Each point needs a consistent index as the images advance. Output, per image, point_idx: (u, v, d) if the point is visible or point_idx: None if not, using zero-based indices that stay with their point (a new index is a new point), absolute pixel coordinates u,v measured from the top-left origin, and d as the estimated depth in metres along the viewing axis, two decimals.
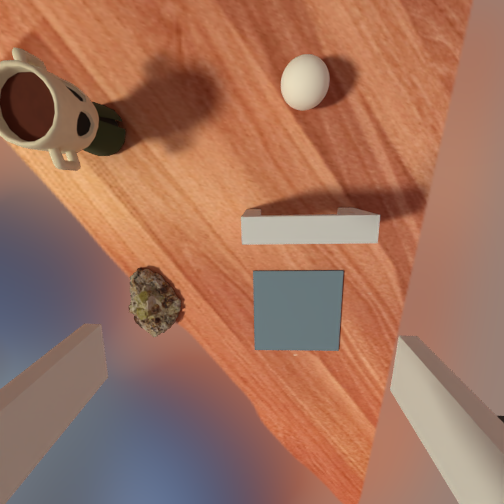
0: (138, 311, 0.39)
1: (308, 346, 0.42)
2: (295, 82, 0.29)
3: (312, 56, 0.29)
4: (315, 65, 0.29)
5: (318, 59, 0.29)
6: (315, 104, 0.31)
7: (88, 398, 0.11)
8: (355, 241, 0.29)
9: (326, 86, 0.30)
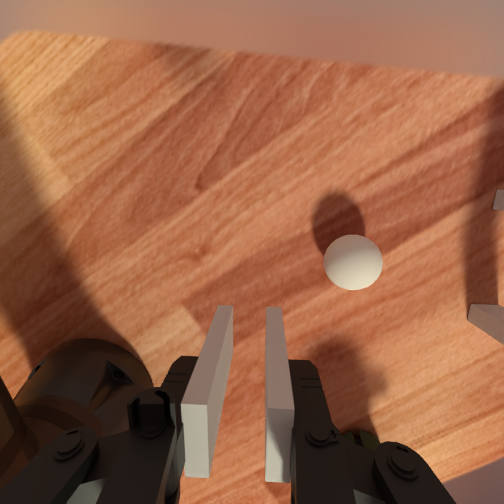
0: None
1: None
2: (364, 282, 0.25)
3: (336, 261, 0.25)
4: (351, 261, 0.25)
5: (340, 254, 0.25)
6: (380, 252, 0.26)
7: (228, 367, 0.13)
8: None
9: (368, 243, 0.25)
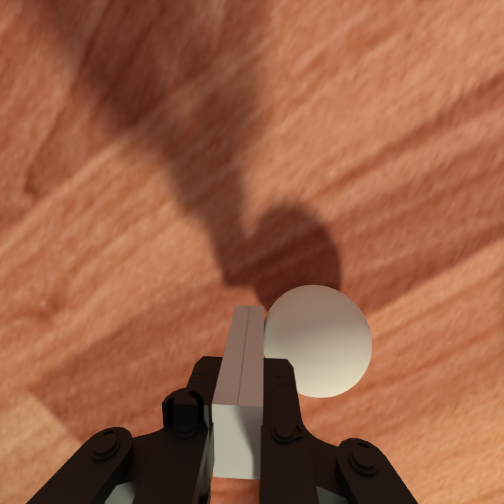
0: None
1: None
2: (335, 392, 0.12)
3: (278, 347, 0.12)
4: (305, 352, 0.12)
5: (286, 334, 0.12)
6: (367, 323, 0.13)
7: None
8: None
9: (342, 311, 0.12)
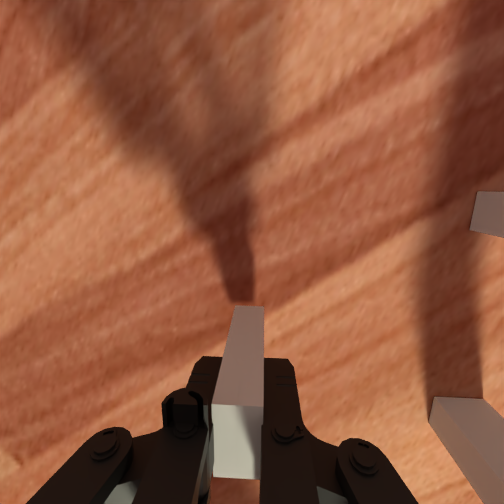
0: None
1: None
2: None
3: None
4: None
5: None
6: None
7: None
8: None
9: None
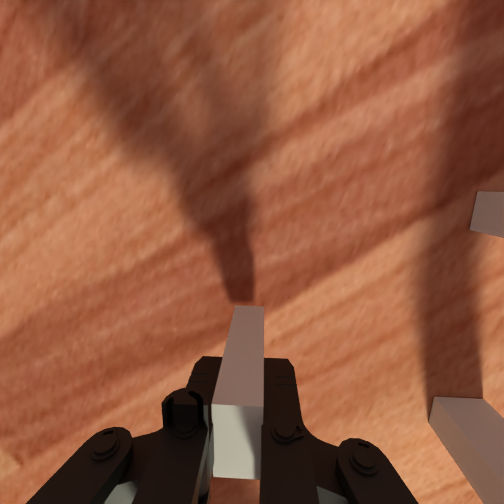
0: None
1: None
2: None
3: None
4: None
5: None
6: None
7: None
8: None
9: None
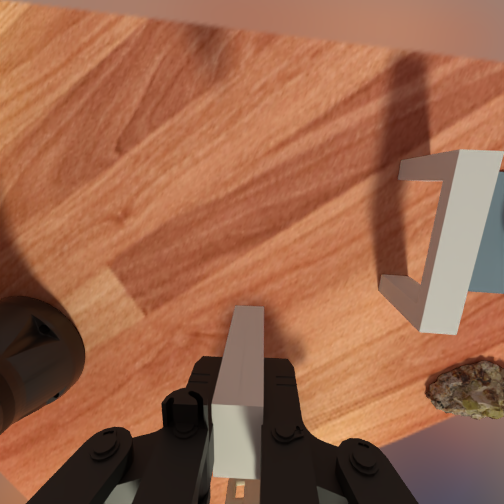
0: (489, 415, 0.32)
1: None
2: None
3: None
4: None
5: None
6: None
7: None
8: (492, 185, 0.20)
9: None
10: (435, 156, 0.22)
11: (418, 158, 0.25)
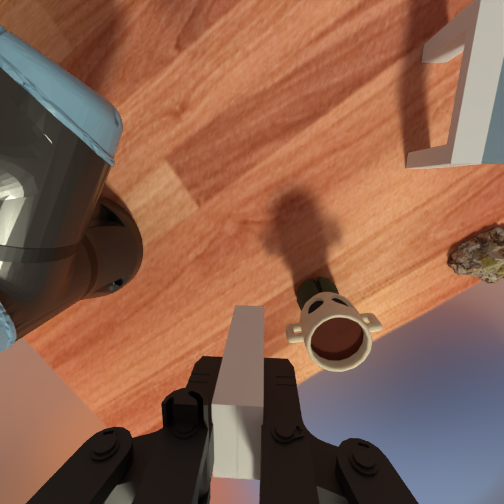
0: None
1: None
2: None
3: None
4: None
5: None
6: None
7: None
8: None
9: None
10: (459, 15, 0.27)
11: (442, 29, 0.30)
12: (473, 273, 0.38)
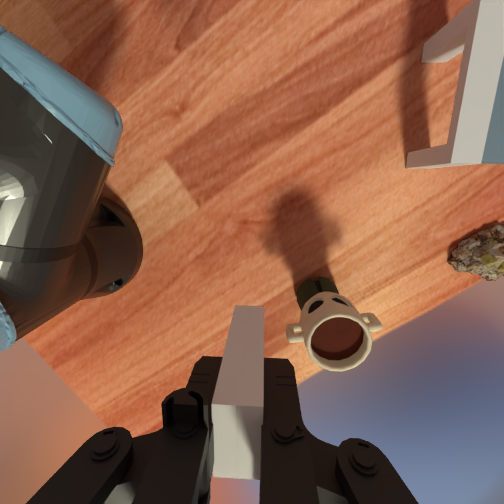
0: None
1: None
2: None
3: None
4: None
5: None
6: None
7: None
8: None
9: None
10: (458, 15, 0.27)
11: (441, 29, 0.30)
12: (473, 270, 0.38)
